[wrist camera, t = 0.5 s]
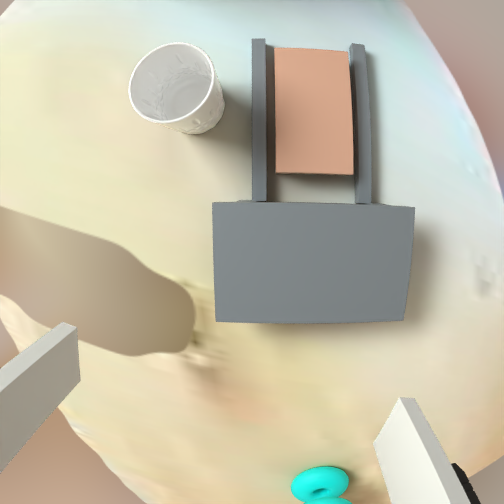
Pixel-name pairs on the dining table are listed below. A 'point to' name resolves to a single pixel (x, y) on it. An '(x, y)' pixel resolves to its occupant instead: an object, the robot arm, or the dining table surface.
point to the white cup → (177, 89)
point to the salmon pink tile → (313, 112)
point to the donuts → (321, 486)
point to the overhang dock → (311, 238)
